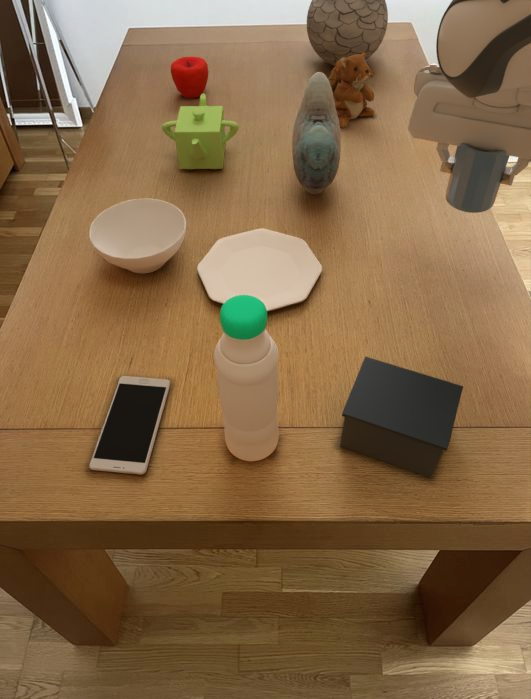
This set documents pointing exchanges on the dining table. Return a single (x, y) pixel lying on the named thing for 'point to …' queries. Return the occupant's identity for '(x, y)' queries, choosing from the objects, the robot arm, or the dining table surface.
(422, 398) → the container
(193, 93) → the apple
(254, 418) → the water bottle
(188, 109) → the teapot
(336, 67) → the stuffed squirrel
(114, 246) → the bowl
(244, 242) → the plate
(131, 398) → the smartphone
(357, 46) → the decorative sphere
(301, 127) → the decorative stone
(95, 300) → the dining table surface
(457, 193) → the cup
